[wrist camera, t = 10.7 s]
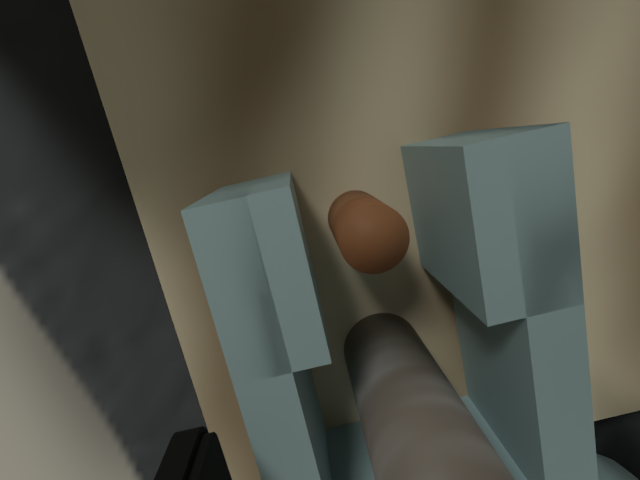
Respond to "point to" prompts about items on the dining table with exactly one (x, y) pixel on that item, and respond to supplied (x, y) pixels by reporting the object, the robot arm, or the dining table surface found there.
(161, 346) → the dining table surface
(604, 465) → the cup
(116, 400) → the dining table surface
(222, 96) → the board
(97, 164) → the dining table surface
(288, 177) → the u-shaped channel block
